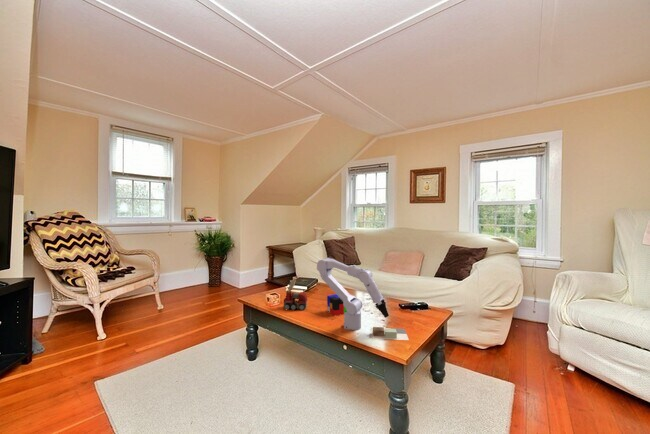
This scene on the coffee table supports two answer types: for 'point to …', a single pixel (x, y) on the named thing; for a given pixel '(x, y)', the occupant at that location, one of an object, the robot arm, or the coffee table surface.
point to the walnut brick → (378, 331)
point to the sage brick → (390, 333)
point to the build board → (400, 336)
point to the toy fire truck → (290, 299)
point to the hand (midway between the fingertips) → (386, 315)
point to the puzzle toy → (335, 305)
